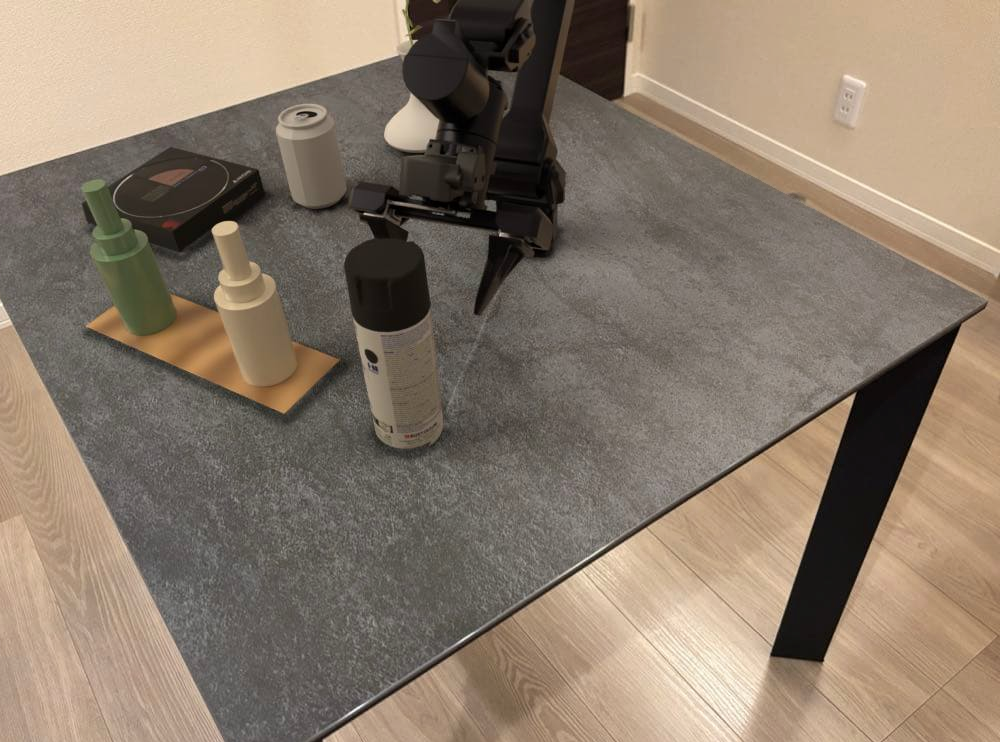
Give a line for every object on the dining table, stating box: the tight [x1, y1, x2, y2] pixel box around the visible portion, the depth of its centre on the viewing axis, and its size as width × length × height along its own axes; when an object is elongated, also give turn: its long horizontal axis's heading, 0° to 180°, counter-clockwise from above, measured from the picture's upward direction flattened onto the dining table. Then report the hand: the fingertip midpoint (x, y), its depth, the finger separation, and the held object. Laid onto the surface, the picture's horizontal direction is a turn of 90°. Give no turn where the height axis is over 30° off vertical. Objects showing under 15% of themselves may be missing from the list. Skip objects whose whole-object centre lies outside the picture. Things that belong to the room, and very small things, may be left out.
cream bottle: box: [211, 220, 298, 387], centre depth 81 cm, size 6×6×17 cm
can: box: [275, 103, 347, 210], centre depth 108 cm, size 8×8×12 cm
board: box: [85, 293, 341, 415], centre depth 91 cm, size 30×9×1 cm, turn 58°
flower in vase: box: [383, 0, 441, 154], centre depth 113 cm, size 13×11×25 cm
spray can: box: [343, 237, 444, 449], centre depth 73 cm, size 7×7×20 cm
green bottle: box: [80, 178, 177, 336], centre depth 88 cm, size 6×6×17 cm
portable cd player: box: [81, 146, 266, 253], centre depth 111 cm, size 16×17×4 cm
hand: (431, 306), depth 78 cm, fingers open, 9 cm apart
